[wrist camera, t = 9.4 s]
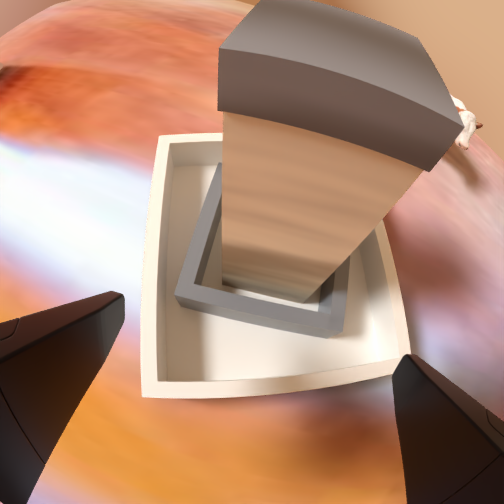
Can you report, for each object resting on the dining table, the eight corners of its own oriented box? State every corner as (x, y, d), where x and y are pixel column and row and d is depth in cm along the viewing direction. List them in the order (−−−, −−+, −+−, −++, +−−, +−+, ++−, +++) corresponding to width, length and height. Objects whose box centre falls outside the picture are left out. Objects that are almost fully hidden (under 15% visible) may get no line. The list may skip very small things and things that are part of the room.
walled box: (382, 372, 17) (412, 368, 13) (157, 393, 15) (142, 397, 12) (341, 168, 23) (355, 139, 20) (166, 167, 22) (159, 135, 18)
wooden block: (303, 305, 17) (464, 127, 4) (220, 286, 17) (218, 48, 4) (314, 232, 19) (417, 38, 6) (240, 213, 19) (268, -8, 6)
